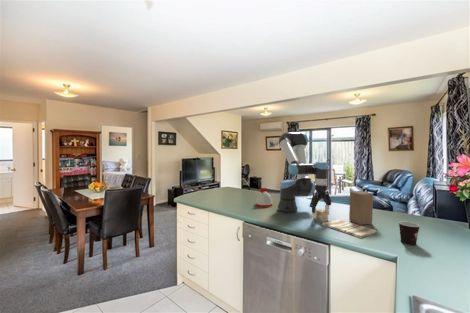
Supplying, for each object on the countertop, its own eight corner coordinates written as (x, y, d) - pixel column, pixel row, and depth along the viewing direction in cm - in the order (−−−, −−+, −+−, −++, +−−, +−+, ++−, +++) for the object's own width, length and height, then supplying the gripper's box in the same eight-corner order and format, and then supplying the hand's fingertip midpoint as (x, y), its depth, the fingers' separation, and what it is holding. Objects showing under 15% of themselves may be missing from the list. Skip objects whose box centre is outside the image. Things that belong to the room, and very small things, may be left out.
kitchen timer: (253, 203, 202) (253, 186, 201) (266, 202, 207) (266, 185, 207) (261, 207, 189) (261, 189, 188) (275, 206, 195) (275, 188, 194)
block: (360, 225, 148) (361, 194, 147) (348, 220, 158) (349, 191, 157) (372, 224, 151) (373, 193, 150) (360, 219, 160) (361, 190, 159)
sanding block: (312, 219, 160) (313, 209, 159) (317, 218, 162) (317, 208, 162) (323, 222, 153) (323, 212, 153) (327, 221, 156) (328, 211, 155)
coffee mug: (409, 239, 126) (410, 221, 126) (423, 246, 118) (424, 226, 117) (388, 239, 126) (389, 221, 125) (400, 246, 117) (401, 227, 117)
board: (322, 225, 148) (322, 223, 148) (336, 220, 157) (337, 218, 157) (361, 238, 128) (361, 236, 128) (376, 232, 136) (376, 230, 136)
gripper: (313, 186, 146) (313, 220, 147) (337, 183, 160) (336, 214, 161) (304, 185, 153) (303, 217, 153) (327, 182, 166) (327, 212, 167)
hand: (320, 216), depth 157 cm, fingers open, 13 cm apart
